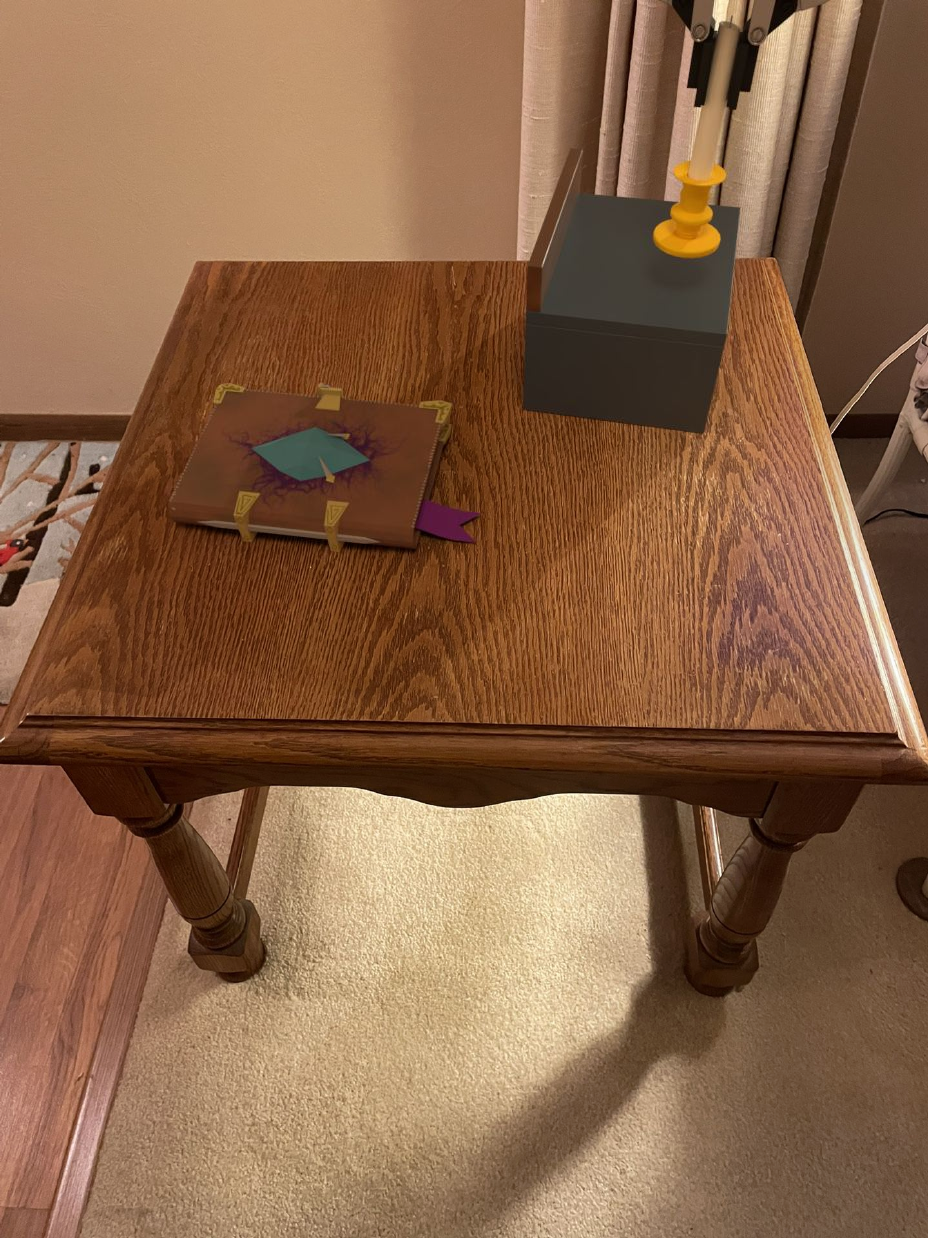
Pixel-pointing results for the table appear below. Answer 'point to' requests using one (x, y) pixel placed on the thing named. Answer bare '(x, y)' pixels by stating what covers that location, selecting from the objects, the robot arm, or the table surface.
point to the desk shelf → (623, 311)
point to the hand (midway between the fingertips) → (716, 98)
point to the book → (319, 469)
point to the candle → (702, 162)
